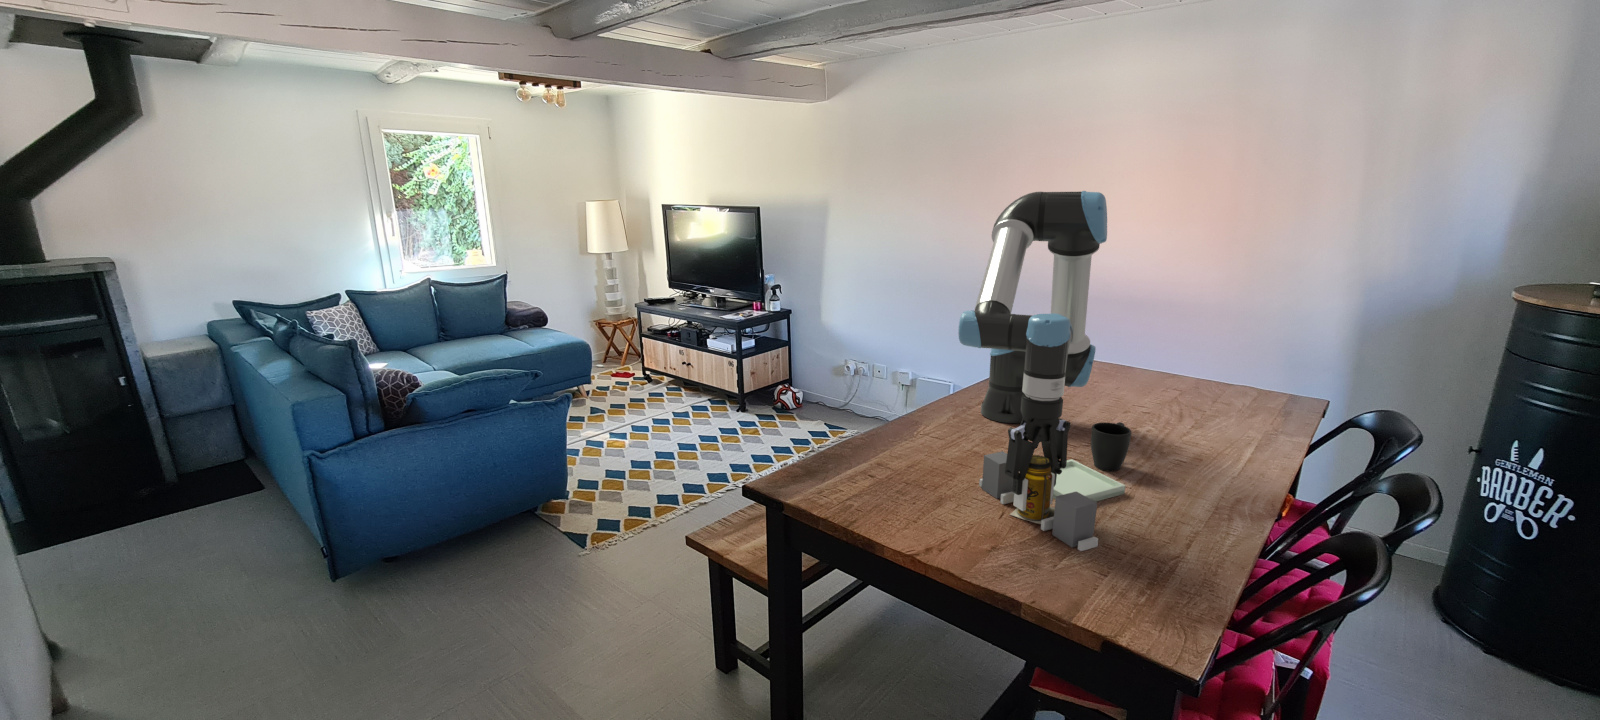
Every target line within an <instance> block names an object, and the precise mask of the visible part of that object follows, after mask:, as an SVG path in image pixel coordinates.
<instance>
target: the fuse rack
mask: <svg viewBox="0 0 1600 720" xmlns="http://www.w3.org/2000/svg"><path fill="white" fill-rule="evenodd" d="M1006 460H1007V452H1004V451H1002V450H1001V451H999V452H998V451H997V452H994V453H988V454H984V455H983V464H982V465H983V466H982V467H983V468H982V478H979V480H978V481H979V483H978V486H979V487H980V488H981V490H983V491H984V492H986V493H987V494H989V495H991V496H992V497H993V498H995V499H997V500H998V499H1000V504H1001V505H1006V504H1011V503H1013V502H1014V493H1013V491H1012V488H1013V478H1011V477H1009V476H1008V475H1006V474H1005V467H1006ZM1097 507H1098V501H1096V502H1095V501H1093V500H1091V499H1089V498H1088V497H1086V496H1084V495H1082V494H1080V493H1078V492H1077V491H1076V492H1072V493H1068V494H1064V495H1060V496H1056V499H1055V501H1054V508H1055V511H1054V517H1050V518H1047V519H1043V520H1042V521H1041V524H1040V530H1042V531H1043V532H1046V531H1049V530H1052V531H1051V532H1052V534H1051V535H1052V536H1053V537H1055V538H1057V539H1058V540H1059V541H1061V542H1063V543H1064V544H1066V545H1068V546H1069V548H1071V549H1072V548H1075V547H1076V548H1077V550H1078V551H1080V552H1082V551H1083V552H1084V551H1087V550H1089V549H1093V548H1097V547H1098V545H1099V538H1098V537H1096V536H1095V535H1094V534H1095V525H1096V516H1097Z"/></svg>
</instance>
